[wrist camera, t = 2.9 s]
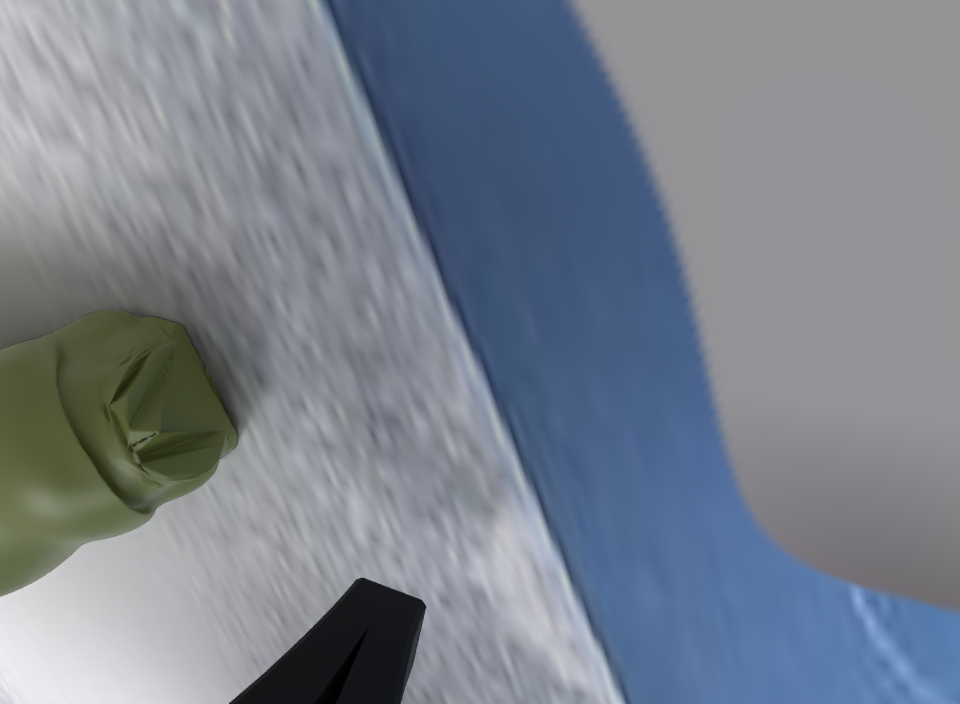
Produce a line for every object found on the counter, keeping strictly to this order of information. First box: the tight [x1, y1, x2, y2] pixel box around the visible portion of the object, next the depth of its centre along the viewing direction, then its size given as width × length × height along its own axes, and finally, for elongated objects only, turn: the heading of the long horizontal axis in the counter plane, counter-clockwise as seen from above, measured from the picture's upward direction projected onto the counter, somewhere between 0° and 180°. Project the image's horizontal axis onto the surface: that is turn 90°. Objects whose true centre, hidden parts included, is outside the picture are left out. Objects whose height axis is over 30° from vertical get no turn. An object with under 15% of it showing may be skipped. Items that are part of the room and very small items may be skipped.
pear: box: [0, 310, 238, 597], centre depth 12 cm, size 6×5×10 cm
